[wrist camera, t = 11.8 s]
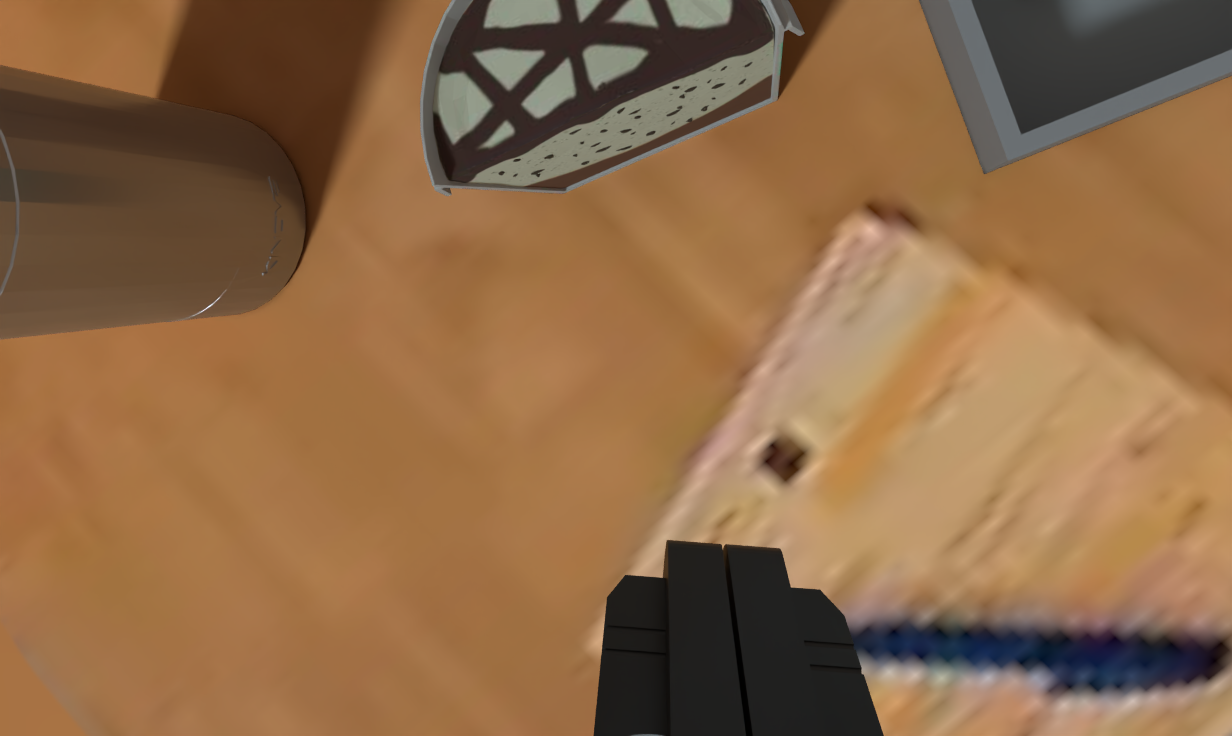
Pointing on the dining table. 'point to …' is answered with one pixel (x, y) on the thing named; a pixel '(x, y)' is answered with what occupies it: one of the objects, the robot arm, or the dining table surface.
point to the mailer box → (1071, 64)
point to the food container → (588, 84)
